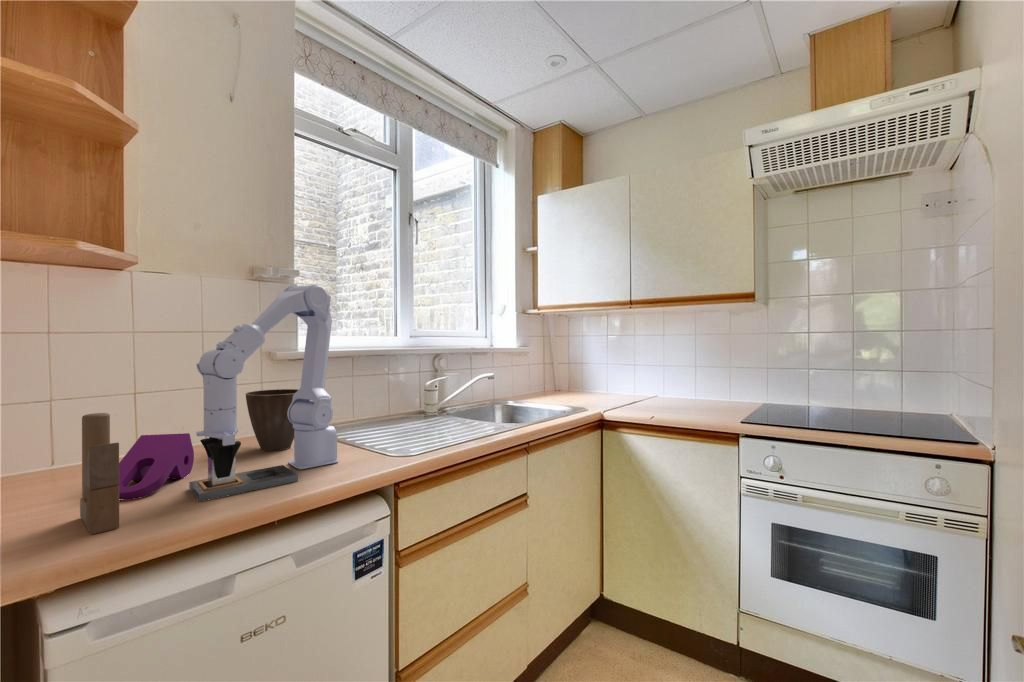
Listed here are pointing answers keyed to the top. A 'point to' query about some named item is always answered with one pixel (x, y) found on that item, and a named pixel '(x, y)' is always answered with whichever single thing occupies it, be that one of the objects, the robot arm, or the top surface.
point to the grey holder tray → (245, 482)
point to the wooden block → (99, 475)
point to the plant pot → (271, 418)
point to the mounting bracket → (154, 463)
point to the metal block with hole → (212, 477)
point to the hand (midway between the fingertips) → (220, 474)
